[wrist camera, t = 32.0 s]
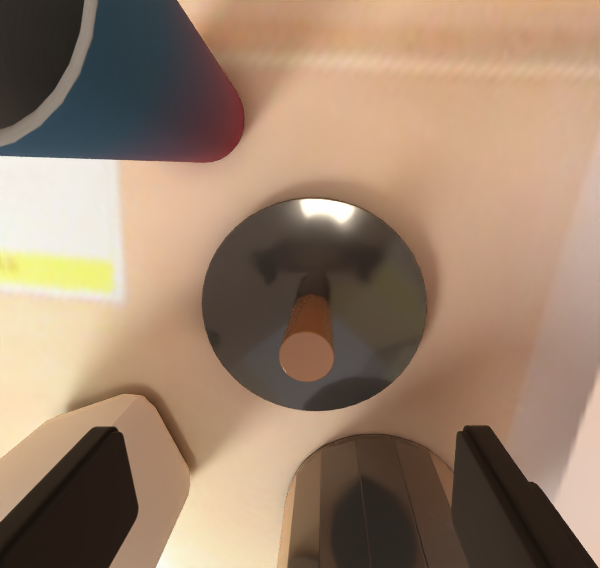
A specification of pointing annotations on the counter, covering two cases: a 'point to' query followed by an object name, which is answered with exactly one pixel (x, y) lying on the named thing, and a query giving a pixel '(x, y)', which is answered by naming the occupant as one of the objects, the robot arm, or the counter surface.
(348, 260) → the lid
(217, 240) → the counter surface
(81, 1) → the cup
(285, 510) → the pot
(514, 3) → the counter surface
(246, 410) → the counter surface
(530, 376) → the counter surface
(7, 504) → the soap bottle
